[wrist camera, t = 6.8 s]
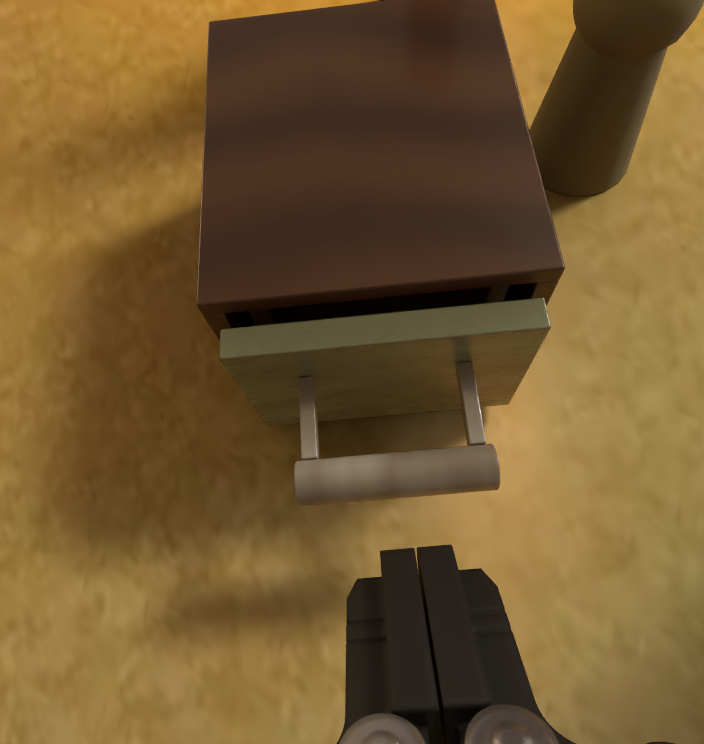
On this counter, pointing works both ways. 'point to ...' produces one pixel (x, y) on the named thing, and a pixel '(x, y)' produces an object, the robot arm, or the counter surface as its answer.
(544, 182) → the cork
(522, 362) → the drawer
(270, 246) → the cabinet
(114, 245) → the counter surface
